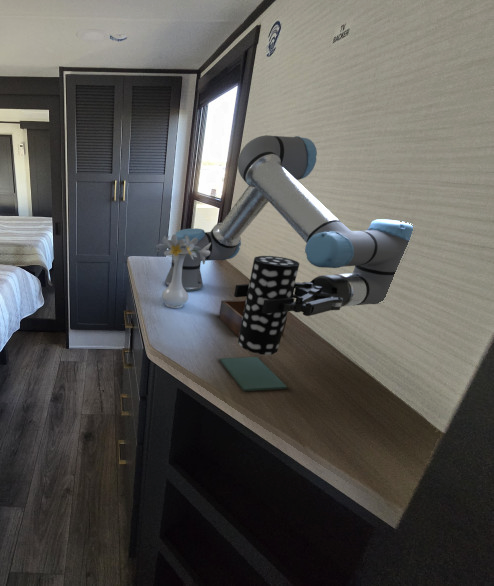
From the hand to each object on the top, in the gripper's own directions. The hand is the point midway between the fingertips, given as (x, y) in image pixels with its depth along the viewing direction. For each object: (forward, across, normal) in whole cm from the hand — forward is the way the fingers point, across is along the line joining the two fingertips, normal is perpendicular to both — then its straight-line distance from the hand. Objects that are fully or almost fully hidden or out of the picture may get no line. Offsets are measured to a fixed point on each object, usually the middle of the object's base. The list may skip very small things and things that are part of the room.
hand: (249, 298), depth 66 cm
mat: (-5, 0, -20) cm, 20 cm away
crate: (-21, +22, -20) cm, 36 cm away
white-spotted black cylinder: (-5, 0, -12) cm, 13 cm away
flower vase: (-6, +42, -20) cm, 47 cm away
